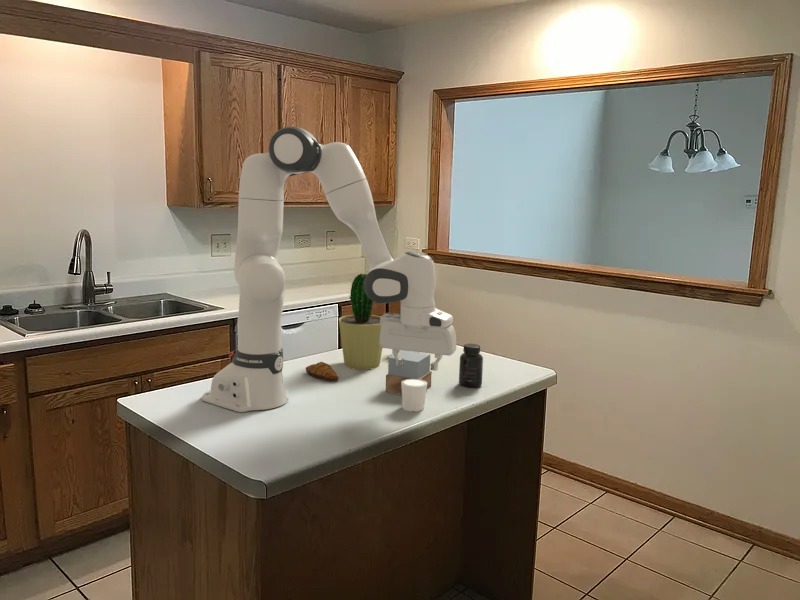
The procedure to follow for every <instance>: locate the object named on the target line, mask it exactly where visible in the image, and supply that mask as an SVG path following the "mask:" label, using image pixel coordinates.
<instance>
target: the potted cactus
mask: <svg viewBox="0 0 800 600" xmlns="http://www.w3.org/2000/svg"><path fill="white" fill-rule="evenodd" d="M367 274H368V273H359V272H357V275H355V276H353V278H354V279H351V280H349V282H350V283H351V285H349V287H350V292H348V294H349V299H350V300H349V299H348V300H347V301H348V302H349V303H348V304H351V310H352V311H350V312H351V314H349V315H344V316H341V317H339V318H338V322H339V323H338V325H339V332H340V341H341V346H342V347H341V348H342V355H343V356H342V357H343V363H344V366H345V365H346V366H345V367H347V368H349V369H353V368H354V369H353V370H372V368H373V369H376V368H378V367H379V366H380V364H381V359H382V354H383V353H382V352H383V348H382V347H381V345H380V344H379V340H380V331H381V326H380V318H381V316H379V315H374V314H372V312H373V310H375V308H374V305H375V302H373V301H372V300H370V299H369V298H368V297H367V295H366V294H365V291H364V286H363V284H364V279H365V277H366V275H367Z"/></svg>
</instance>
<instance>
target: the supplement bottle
mask: <svg viewBox="0 0 800 600" xmlns="http://www.w3.org/2000/svg"><path fill="white" fill-rule="evenodd" d="M462 351H463V353H461V354H460V357H459V366H458V367H459V368H458V369H459V370H458V384H459V386H461V387H463V388H466V387H467V389H476V388H479V387H482V384H483V372H484V371H483V370H484V357H483V355H482V354H481V345H480V344H478V343H465V344H464V345H463V350H462Z"/></svg>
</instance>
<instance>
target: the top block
mask: <svg viewBox="0 0 800 600" xmlns="http://www.w3.org/2000/svg"><path fill="white" fill-rule="evenodd" d="M399 355H400V357H401V358H404V361H403V362H404V365H403V366H397V365H396V359H395V357H394V355H393V354H392V355H391V356H388V361H387V362H388V363H387V367H388V368H387V369H388V370H387V374H388V375H394V376H400V377H406V378H412V379H419V378H420V377H422V376H423V375H425V374H426V373H428V372H429V371H431V370H430V368H431V366H430V364H431V354H430V353H422V352H420V353H418V352H411V351H404V350H401V351H400V352H399Z"/></svg>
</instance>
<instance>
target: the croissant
mask: <svg viewBox="0 0 800 600" xmlns="http://www.w3.org/2000/svg"><path fill="white" fill-rule="evenodd" d="M305 372H306V374H308V375H309V376H312V377H313V378H316V379H319V380H323V381H328V382H338V381H339V375H338V372H337V371H336V370H335V369H334V367H333V368H332V366H331V364H329V363H326V362H323V361H319V362H317V363H314V364H310V365H307V366H306V367H305Z"/></svg>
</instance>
